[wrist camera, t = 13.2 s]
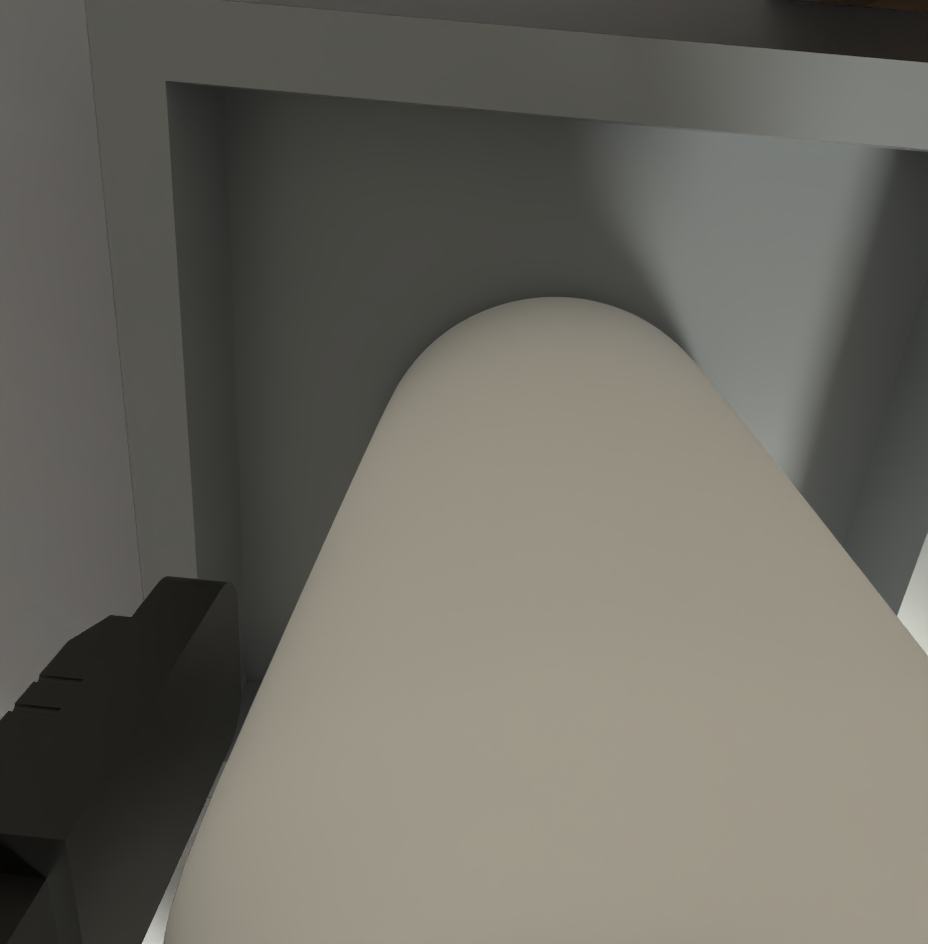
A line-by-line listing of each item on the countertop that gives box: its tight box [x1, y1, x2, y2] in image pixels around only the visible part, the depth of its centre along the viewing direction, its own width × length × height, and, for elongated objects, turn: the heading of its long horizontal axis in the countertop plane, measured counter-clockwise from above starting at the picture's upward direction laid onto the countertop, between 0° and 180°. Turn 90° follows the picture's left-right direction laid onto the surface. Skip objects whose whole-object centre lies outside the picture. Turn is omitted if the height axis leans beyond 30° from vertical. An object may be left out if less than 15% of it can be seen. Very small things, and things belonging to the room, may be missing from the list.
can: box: [164, 297, 928, 944], centre depth 10 cm, size 6×6×12 cm
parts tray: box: [85, 0, 928, 798], centre depth 14 cm, size 14×14×3 cm
